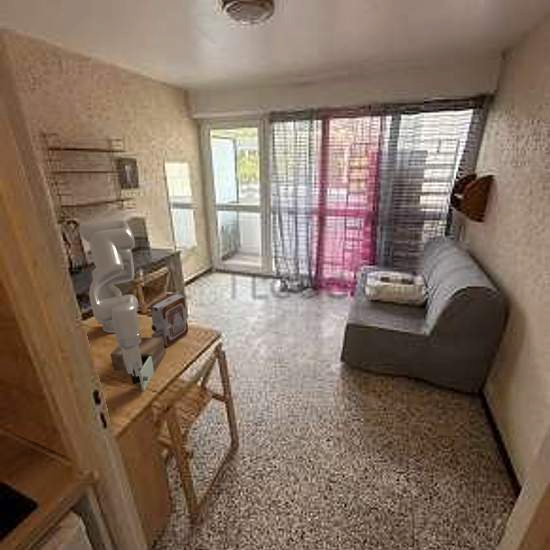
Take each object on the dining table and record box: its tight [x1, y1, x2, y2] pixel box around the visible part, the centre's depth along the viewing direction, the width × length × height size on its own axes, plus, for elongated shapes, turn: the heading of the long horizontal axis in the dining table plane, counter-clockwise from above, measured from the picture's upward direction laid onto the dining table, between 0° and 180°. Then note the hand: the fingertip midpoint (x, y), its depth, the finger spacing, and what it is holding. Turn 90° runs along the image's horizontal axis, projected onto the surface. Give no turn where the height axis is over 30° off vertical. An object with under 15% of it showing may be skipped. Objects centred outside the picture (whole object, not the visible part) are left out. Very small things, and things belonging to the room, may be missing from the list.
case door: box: [139, 356, 155, 391], centre depth 120 cm, size 10×2×8 cm, turn 179°
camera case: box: [110, 337, 166, 373], centre depth 131 cm, size 16×12×8 cm
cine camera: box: [149, 293, 189, 347], centre depth 144 cm, size 9×19×20 cm, turn 152°
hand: (137, 382), depth 118 cm, fingers closed
